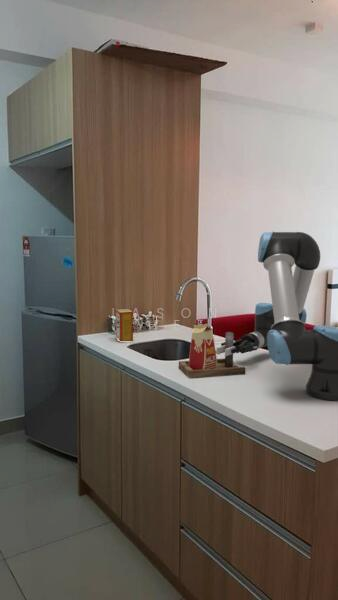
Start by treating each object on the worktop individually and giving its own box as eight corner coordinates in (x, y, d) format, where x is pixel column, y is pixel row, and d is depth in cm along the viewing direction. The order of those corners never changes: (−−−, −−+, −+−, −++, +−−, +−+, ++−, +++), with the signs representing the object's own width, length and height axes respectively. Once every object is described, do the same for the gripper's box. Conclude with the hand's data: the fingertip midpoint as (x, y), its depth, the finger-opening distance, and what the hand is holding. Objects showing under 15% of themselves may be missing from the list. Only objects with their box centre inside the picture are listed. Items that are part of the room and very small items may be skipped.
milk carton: (218, 371, 193) (219, 322, 191) (203, 376, 187) (203, 325, 184) (201, 367, 200) (201, 319, 197) (185, 371, 193) (186, 322, 191)
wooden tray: (245, 373, 190) (246, 336, 188) (189, 377, 184) (189, 339, 182) (231, 363, 204) (231, 328, 202) (178, 367, 199) (178, 331, 197)
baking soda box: (133, 342, 245) (132, 311, 243) (120, 343, 243) (120, 311, 241) (128, 338, 254) (127, 308, 252) (116, 339, 252) (115, 308, 250)
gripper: (268, 353, 204) (238, 364, 186) (235, 347, 214) (204, 357, 197) (269, 335, 203) (239, 345, 185) (235, 330, 213) (204, 339, 196)
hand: (221, 351), depth 191 cm, fingers closed on wooden tray, 3 cm apart
